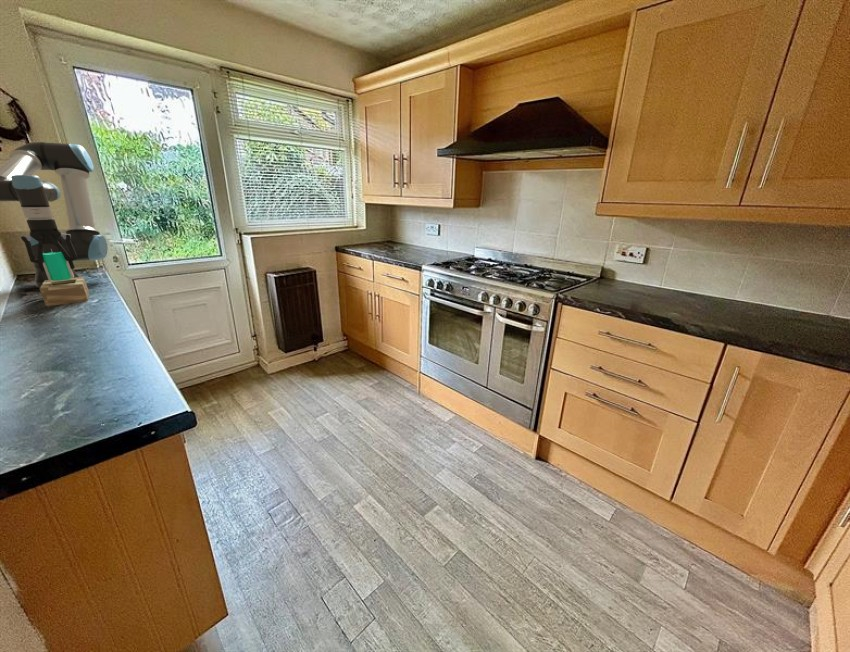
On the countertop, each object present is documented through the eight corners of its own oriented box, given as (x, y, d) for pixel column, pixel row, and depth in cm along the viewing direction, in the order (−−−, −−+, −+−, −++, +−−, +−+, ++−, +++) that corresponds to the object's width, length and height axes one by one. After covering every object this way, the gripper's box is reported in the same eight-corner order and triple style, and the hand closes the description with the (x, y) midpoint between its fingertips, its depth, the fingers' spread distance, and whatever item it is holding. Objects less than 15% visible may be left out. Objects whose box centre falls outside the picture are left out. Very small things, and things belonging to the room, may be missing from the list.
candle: (76, 277, 144) (66, 248, 140) (60, 280, 139) (49, 250, 134) (63, 276, 145) (52, 247, 140) (47, 280, 139) (35, 250, 135)
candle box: (50, 296, 147) (44, 280, 144) (89, 292, 154) (83, 276, 152) (46, 306, 135) (39, 288, 133) (87, 300, 143) (82, 284, 140)
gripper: (1, 220, 125) (26, 283, 133) (73, 218, 136) (92, 276, 145) (5, 218, 130) (29, 279, 139) (74, 217, 142) (92, 273, 150)
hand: (61, 278), depth 142 cm, fingers closed on candle, 6 cm apart
